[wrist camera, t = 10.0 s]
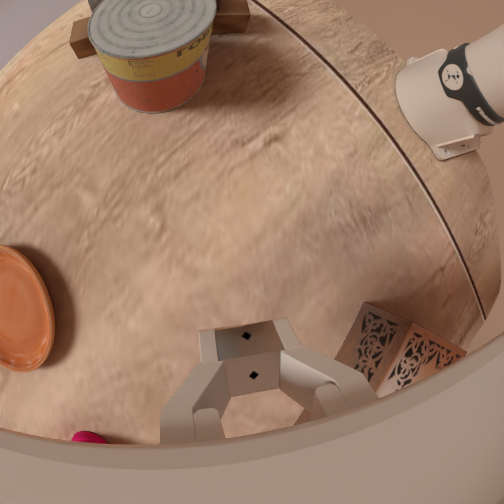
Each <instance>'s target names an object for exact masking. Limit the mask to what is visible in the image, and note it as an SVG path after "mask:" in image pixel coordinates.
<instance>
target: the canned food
mask: <svg viewBox="0 0 504 504" xmlns="http://www.w3.org/2000/svg"><path fill="white" fill-rule="evenodd" d="M216 9H217V5H216V0H102V1H101V2H100V3H99V5H98V6H97V7H96V8H95V10H94V11H93V13H92V15H91V17H90V19H89V22H88V27H87V32H88V37H89V40H90V42H91V43H92V45H93V46H94V48H95V50H96V52H97V54H98V56H99V58H100V60H101V62H102V65H103V67H104V69H105V71H106V73H107V75H108V77H109V79H110V81H111V83H112V85H113V87H114V90H115V93H116V95H117V97H118V98H119V100H120V101H121V102H122V103H123V104H124V105H125V106H127V107H128V108H130V109H132V110H135V111H138V112H142V113H162V112H167V111H170V110H173V109H176V108H178V107H180V106H182V105H184V104H185V103H187V102H188V101H189V100H191V99H192V98H193V97H194V96H195V95H196V94H197V93H198V91H199V90H200V88H201V87H202V85H203V83H204V80H205V76H206V64H207V57H208V50H209V44H210V38H211V32H212V26H213V20H214V18H215V15H216Z"/></svg>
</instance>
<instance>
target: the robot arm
mask: <svg viewBox="0 0 504 504" xmlns="http://www.w3.org/2000/svg"><path fill="white" fill-rule="evenodd" d="M396 93H397V98H398V101H399V104H400V107H401V109H402V112H403V114H404V116H405V117H406V119H407V121H408V122H409V124H410V125H411V127H412V128H413V130H414V131H415V132H416V133H417V134H418V135H419V136H420V137H421V138H422V139H423V140H424V141H425V142H426V143H427V144H428V145H429V146H430V148H431V149H432V151H433V153H434V154H435V156H436V157H437V159H438V160H440V161H442V160H445V159H448V158H452V157H455V156H458V155H461V154H464V153H467V152H471V151H474V150H477V149H479V148H480V137H481V136H485V135H489V134H491V133H492V129H493V126H494V125H499V124H501V123H502V122H504V23H503V24H502V25H501V26H499V27H498V28H497V29H495V30H493V31H492V32H490V33H489V34H487V35H485V36H484V37H482V38H480V39H478V40H477V41H475V42H473V43H471V44H470V43H464V44H462V45H458V46H456V47H455V48H454V49H452V50H450V51H449V52H448V51H446V50H444V49H440V50H438V51H435V52H433V53H431V54H428V55H426V56H424V57H423V58H420V59H418V58H416V57H410V58H408V59H407V63H406V67H405V68H404V69H403V70H401V71H400V72H399V74H398V76H397V78H396ZM214 331H215V333H214ZM215 338H216V339H215ZM199 344H200V355H201V364H197V365H196V366H195V367H194V369H193V370H192V371H191V373H190V374H189V375H188V376H187V378H186V379H185V380H184V382H183V383H182V384H181V386H180V387H179V388H178V390H177V391H176V392H175V394H174V395H173V396H172V397H171V399H170V400H169V401H168V403H167V404H166V405H165V406H164V408H163V409H162V410H161V418H160V444H157V445H119V444H98V443H86V442H76V441H67V440H59V439H53V438H46V437H40V436H35V435H30V434H25V433H20V432H16V431H12V430H8V429H4V428H0V504H504V332H503V333H501V334H500V335H498V336H497V337H495V338H494V339H492V340H491V341H489V342H488V343H486V344H485V345H483V346H482V347H480V348H478V349H477V350H475V351H474V352H472V353H470V354H469V355H467V356H465V357H463V358H462V359H460V360H458V361H456V362H455V363H453V364H451V365H449V366H447V367H445V368H444V369H442V370H440V371H438V372H436V373H434V374H432V375H430V376H428V377H426V378H424V379H422V380H420V381H418V382H416V383H413V384H411V385H409V386H407V387H405V388H402V389H400V390H398V391H395V392H393V393H391V394H388V395H386V396H383V397H381V398H378V396H377V395H376V393H375V392H374V390H373V388H372V387H371V385H370V384H369V382H368V381H367V379H366V378H365V376H364V375H363V373H361V372H359V371H357V370H355V369H353V368H351V367H349V366H346V365H344V364H342V363H340V362H338V361H336V360H334V359H332V358H330V357H328V356H326V355H324V354H322V353H320V352H318V351H316V350H314V349H312V348H310V347H308V346H306V345H305V346H301V344H300V342H299V340H298V338H297V336H296V334H295V333H294V331H293V329H292V327H291V325H290V323H289V321H288V319H287V318H286V317H282V318H277V319H272V320H269V321H263V322H257V323H251V324H245V325H237V326H229V327H221V328H214V329H205V330H199ZM278 388H280V390H282V391H283V392H284V393H285V394H287V395H288V396H289V397H291V398H292V399H293V400H294V401H296V402H297V403H298V404H300V405H301V406H302V407H304V408H305V409H306V410H308V411H309V412H310V413H311V417H310V421H309V422H305V423H302V424H298V425H294V426H290V427H285V428H281V429H276V430H272V431H267V432H262V433H257V434H251V435H246V436H240V437H233V438H226V439H225V435H224V431H223V427H222V423H221V418H222V415H223V413H224V411H225V409H226V407H227V405H228V403H229V401H230V399H231V398H230V397H234V396H239V395H245V394H250V393H255V392H261V391H267V390H272V389H278Z"/></svg>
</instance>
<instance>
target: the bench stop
mask: <svg viewBox="0 0 504 504" xmlns="http://www.w3.org/2000/svg"><path fill="white" fill-rule="evenodd" d="M101 1H102V0H88V2H89V5H90V8H91V10H92V13H93V11H94V10H95V8H96V7H97V6H98V5H99V3H100V2H101ZM216 5H217V9H216V15H215V18H214V20H213V26H212V32H211V34H216V33H244V32H245V29H246V26H247V23H248V20H249V18H250V11H249V7H248V3H247V0H216ZM89 19H90V17H88V18H85V19H82V20H78V21H75V22H74V23H73V27H72V32H71V37H70V43H69V44H70V45H71V47H72V49H73V50H74V52H75V54H76V55H77V57H78V59H80V58H83V57H86V56H89V55H93V54H96V53H97V52H96V50H95V48H94V46H93V45H92V43H91V42H90V40H89V37H88V32H87V27H88V22H89Z"/></svg>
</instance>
